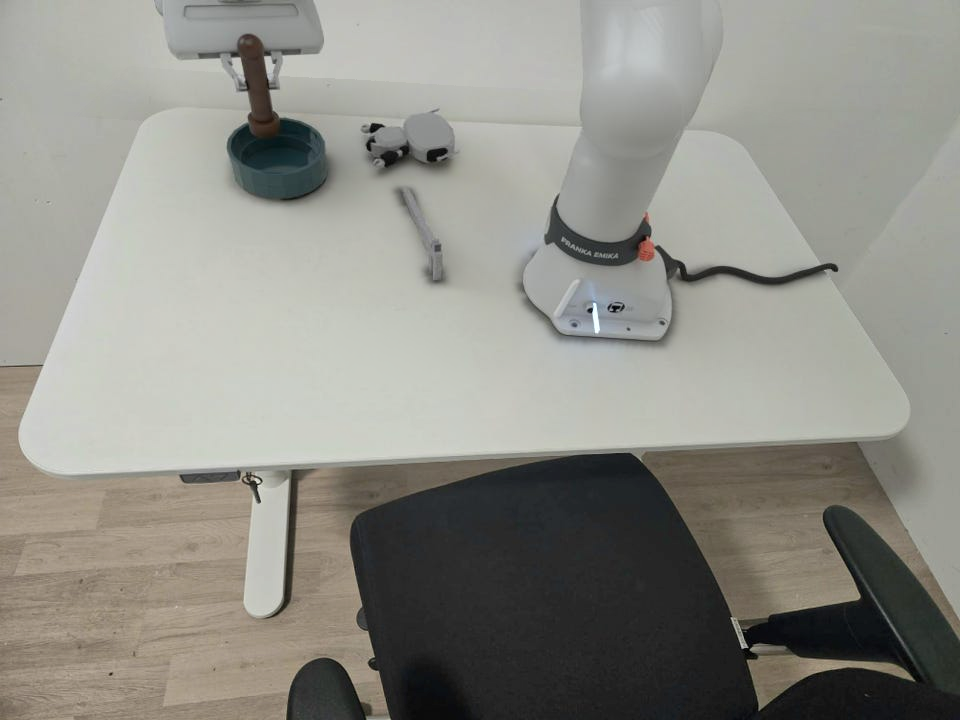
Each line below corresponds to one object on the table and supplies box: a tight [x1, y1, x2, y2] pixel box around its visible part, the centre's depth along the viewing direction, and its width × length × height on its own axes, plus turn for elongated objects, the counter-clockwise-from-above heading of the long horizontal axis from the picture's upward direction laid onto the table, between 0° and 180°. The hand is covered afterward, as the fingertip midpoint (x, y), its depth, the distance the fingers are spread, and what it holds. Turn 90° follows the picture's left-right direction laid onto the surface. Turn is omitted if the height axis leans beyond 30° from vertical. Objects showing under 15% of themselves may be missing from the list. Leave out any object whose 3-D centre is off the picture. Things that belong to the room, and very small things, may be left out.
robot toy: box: [360, 107, 461, 169], centre depth 97 cm, size 12×4×15 cm
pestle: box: [237, 34, 281, 138], centre depth 80 cm, size 4×4×14 cm
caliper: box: [400, 187, 443, 281], centre depth 85 cm, size 20×1×6 cm, turn 18°
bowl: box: [226, 116, 328, 200], centre depth 89 cm, size 14×14×5 cm
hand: (258, 89), depth 80 cm, fingers closed on pestle, 3 cm apart
